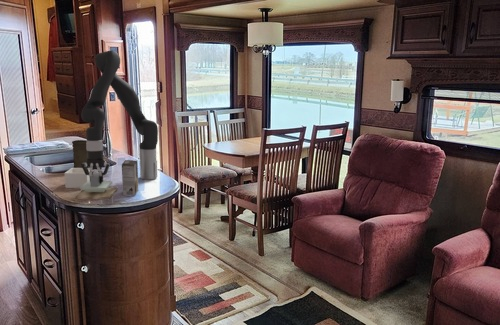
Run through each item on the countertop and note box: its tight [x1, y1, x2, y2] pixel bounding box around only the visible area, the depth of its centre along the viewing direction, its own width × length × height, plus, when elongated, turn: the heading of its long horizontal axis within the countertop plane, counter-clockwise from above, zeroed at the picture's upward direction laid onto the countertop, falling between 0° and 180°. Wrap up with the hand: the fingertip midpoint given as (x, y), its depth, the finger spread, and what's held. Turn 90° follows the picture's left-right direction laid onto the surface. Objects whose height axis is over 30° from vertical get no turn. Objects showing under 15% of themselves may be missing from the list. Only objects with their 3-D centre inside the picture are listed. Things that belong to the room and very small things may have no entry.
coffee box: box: [121, 159, 139, 197], centre depth 210 cm, size 9×6×16 cm
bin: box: [64, 167, 90, 189], centre depth 221 cm, size 11×11×8 cm
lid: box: [79, 172, 113, 192], centre depth 207 cm, size 12×12×8 cm
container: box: [71, 139, 90, 168], centre depth 250 cm, size 9×9×18 cm
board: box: [74, 187, 118, 200], centre depth 208 cm, size 16×16×1 cm
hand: (96, 182), depth 207 cm, fingers closed on lid, 3 cm apart
